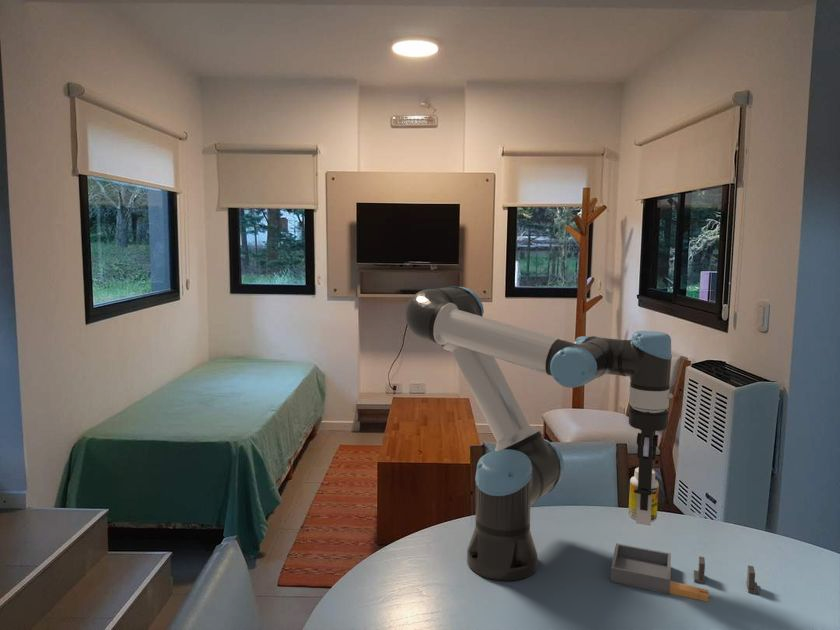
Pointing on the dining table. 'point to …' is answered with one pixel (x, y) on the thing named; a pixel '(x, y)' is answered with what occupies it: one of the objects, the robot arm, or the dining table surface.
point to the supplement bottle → (634, 496)
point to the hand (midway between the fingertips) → (644, 517)
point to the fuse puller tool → (688, 591)
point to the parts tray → (641, 568)
